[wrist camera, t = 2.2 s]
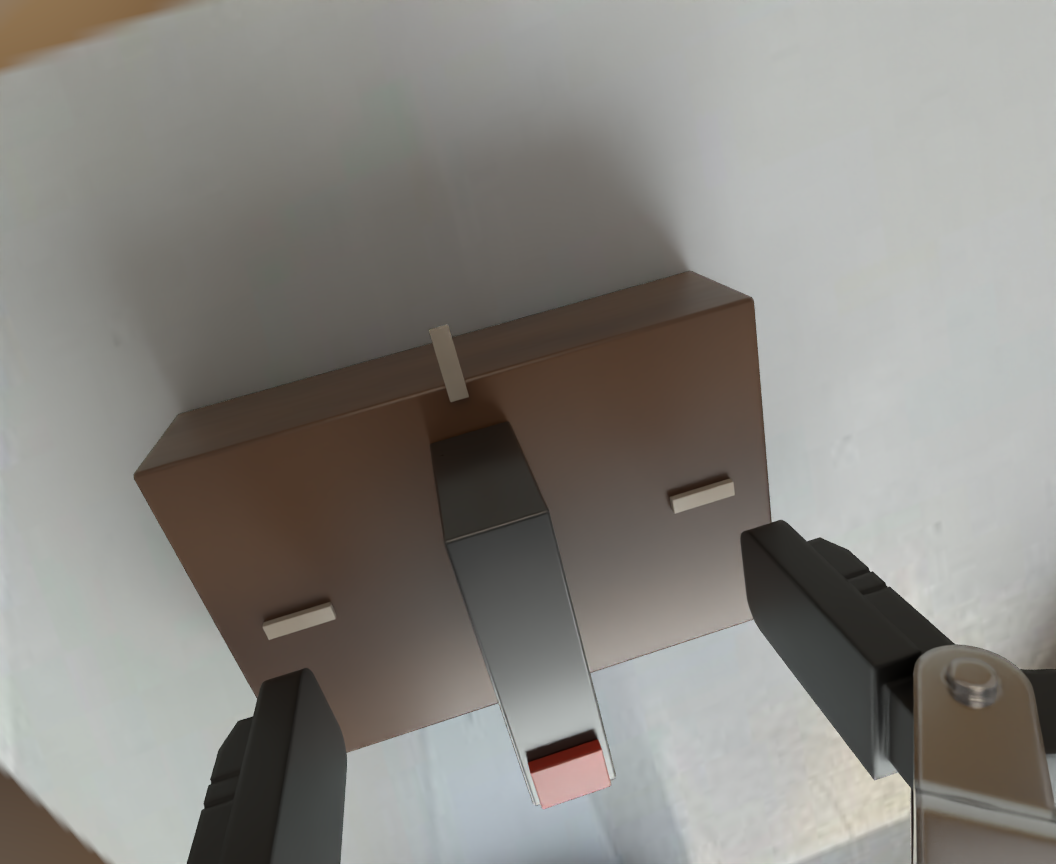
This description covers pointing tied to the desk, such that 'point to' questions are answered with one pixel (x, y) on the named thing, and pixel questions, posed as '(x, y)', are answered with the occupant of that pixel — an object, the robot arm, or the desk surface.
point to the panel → (412, 507)
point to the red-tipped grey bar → (521, 611)
